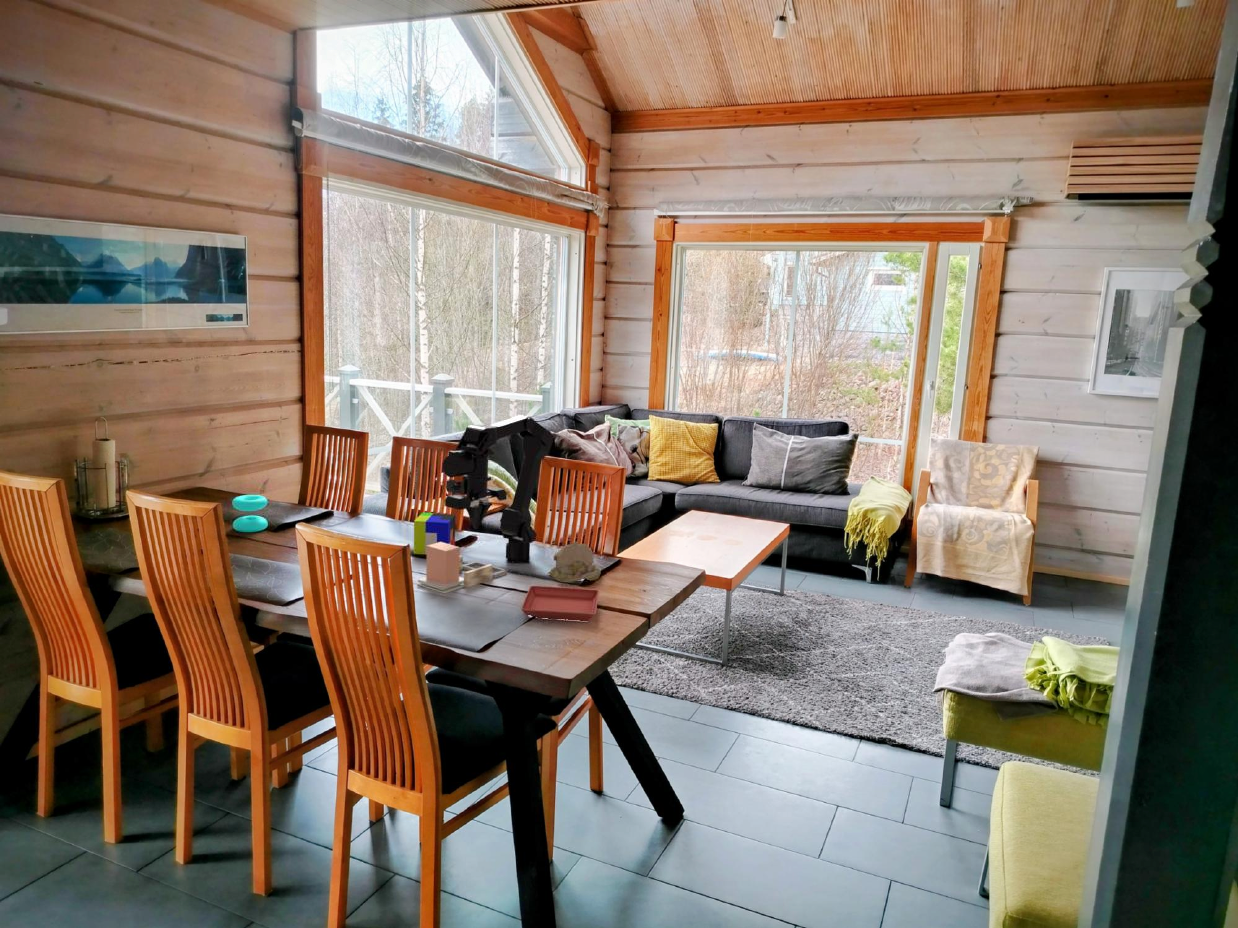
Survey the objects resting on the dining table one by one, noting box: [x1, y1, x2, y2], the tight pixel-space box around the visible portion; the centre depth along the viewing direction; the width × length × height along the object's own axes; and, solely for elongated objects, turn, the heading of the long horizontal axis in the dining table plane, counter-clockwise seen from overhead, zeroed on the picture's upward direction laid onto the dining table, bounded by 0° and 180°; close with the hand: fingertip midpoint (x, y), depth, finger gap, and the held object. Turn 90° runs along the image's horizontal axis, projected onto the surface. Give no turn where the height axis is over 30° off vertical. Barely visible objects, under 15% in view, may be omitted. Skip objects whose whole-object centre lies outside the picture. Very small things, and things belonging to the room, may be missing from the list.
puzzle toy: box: [413, 512, 456, 555], centre depth 260 cm, size 10×10×10 cm
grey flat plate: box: [461, 560, 508, 580], centre depth 243 cm, size 6×12×1 cm, turn 56°
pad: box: [416, 582, 465, 594], centre depth 230 cm, size 7×10×1 cm
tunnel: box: [459, 555, 494, 589], centre depth 236 cm, size 10×12×4 cm
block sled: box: [417, 542, 464, 590], centre depth 229 cm, size 9×9×10 cm
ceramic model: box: [547, 541, 601, 583], centre depth 244 cm, size 14×11×10 cm
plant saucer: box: [520, 585, 600, 622], centre depth 218 cm, size 18×18×3 cm
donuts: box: [231, 494, 269, 533], centre depth 270 cm, size 10×10×10 cm
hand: (475, 528), depth 238 cm, fingers closed
